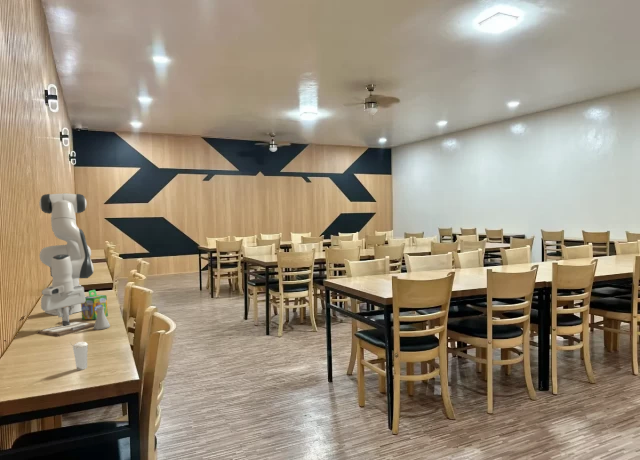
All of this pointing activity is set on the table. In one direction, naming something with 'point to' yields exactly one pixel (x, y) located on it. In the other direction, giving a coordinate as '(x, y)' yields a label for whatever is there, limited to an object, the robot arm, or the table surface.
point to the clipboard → (67, 328)
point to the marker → (65, 316)
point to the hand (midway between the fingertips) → (65, 316)
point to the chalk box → (93, 305)
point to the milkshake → (80, 355)
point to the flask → (101, 320)
